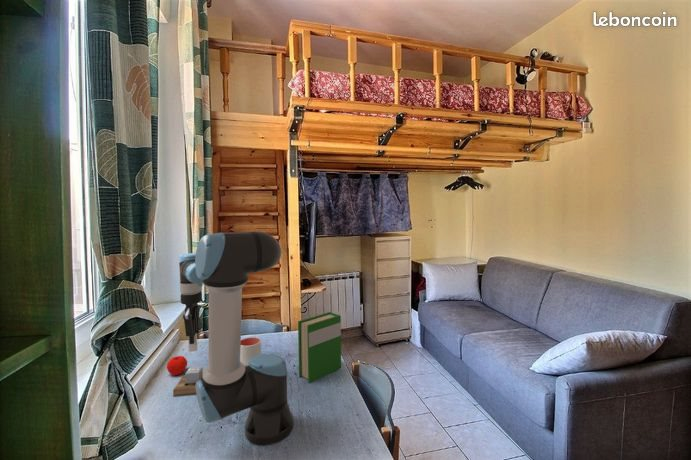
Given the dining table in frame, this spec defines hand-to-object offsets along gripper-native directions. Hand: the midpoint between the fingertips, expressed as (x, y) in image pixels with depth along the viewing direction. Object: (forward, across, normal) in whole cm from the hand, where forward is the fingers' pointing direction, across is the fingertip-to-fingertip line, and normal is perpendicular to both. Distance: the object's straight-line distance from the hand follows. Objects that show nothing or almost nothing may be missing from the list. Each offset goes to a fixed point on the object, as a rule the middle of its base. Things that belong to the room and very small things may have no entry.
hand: (193, 350), depth 125 cm
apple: (+15, +13, +11) cm, 23 cm away
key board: (+15, 0, -8) cm, 17 cm away
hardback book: (+15, +3, -51) cm, 53 cm away
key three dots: (+12, 0, 0) cm, 12 cm away
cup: (+15, +18, -19) cm, 30 cm away
